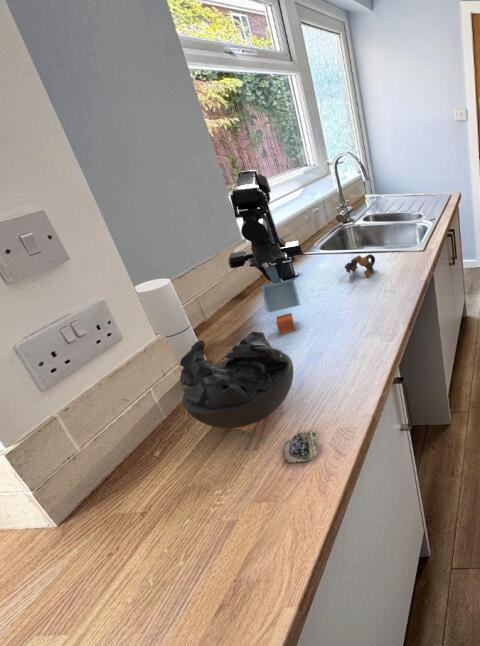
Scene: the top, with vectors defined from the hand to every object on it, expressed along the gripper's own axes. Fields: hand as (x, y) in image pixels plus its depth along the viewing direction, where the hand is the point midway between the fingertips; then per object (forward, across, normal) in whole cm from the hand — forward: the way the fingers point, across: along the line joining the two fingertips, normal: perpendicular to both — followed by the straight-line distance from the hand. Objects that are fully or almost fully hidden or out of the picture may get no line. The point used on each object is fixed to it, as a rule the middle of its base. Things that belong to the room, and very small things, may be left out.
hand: (275, 279), depth 123 cm
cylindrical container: (+13, -23, -17) cm, 31 cm away
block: (+11, 0, -7) cm, 13 cm away
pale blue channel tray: (+7, 0, +2) cm, 7 cm away
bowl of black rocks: (+13, -7, -44) cm, 47 cm away
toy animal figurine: (+13, +27, +21) cm, 36 cm away
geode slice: (+13, +2, -60) cm, 62 cm away
